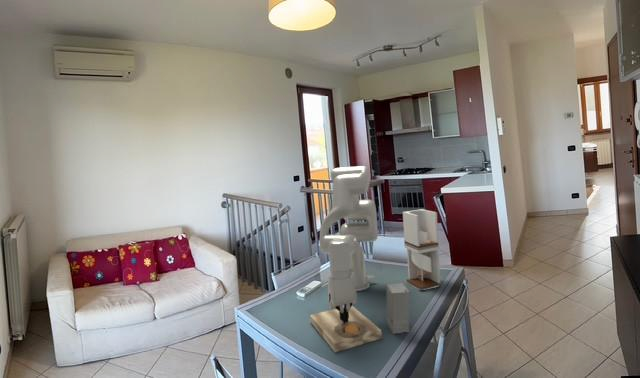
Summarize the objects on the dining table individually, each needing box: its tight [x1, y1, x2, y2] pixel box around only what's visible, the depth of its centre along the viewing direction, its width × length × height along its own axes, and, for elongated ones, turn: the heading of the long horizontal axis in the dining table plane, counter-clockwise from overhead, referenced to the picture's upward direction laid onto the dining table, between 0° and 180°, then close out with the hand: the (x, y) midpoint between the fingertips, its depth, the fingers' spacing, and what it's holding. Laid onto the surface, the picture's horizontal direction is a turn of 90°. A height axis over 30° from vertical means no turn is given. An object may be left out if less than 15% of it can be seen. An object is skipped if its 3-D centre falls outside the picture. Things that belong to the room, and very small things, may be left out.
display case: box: [402, 208, 441, 290], centre depth 169 cm, size 11×11×35 cm
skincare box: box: [385, 282, 410, 335], centre depth 133 cm, size 8×7×16 cm
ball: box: [345, 324, 359, 334], centre depth 129 cm, size 5×5×5 cm
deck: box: [309, 305, 383, 353], centre depth 136 cm, size 18×24×3 cm
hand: (344, 321), depth 135 cm, fingers closed
